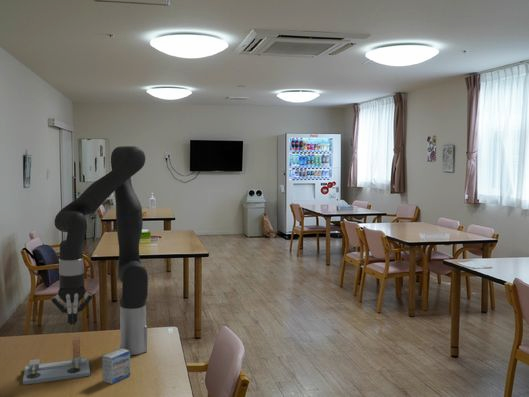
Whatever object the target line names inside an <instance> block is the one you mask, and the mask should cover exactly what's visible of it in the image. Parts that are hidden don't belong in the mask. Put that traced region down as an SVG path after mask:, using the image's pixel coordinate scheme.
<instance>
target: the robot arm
mask: <svg viewBox="0 0 529 397" xmlns="http://www.w3.org/2000/svg"><path fill="white" fill-rule="evenodd" d="M145 164H146V155H145V151H143V149H142V148H140V147H138V146H130V145H126V146H123V145H122V146H117V147H115V148H114V149H113V150H112V151H111V155H110V167H111V170H110V171H109V172H107V174H105V175H103V176H102V177H100V178H98V179H96V180H95V181H94V182H93V183H91V184H90V185H89V186H88V187H87V188H85V190H84V191H83V192H82V193H81V194H80V195H79V196H78V197H77V198H76V199H75V200H73V201H71V202H70V203H68V204H67V205H65V206H64V207H63V208H62V209H61V210H59V211H58V212H57V214H56V216H55V217H54V227H55V228H56V229H57V230H58V231H60V232H64V233H67V235H66V238H65V239H64V240H62V241H61V242H60V243H59V264H58V273H59V274H58V276H59V277H58V278H59V279H58V280H59V282H58V284H59V285H58V287H59V288H58V289H59V290H58V291H57V294H56V295H55V296H52V297H51V302H52V303H53V305H55V306H56V307H57V308H58V309H59V311H61V313H63V314H64V313H65V314H67V323H68V324H70V326H72V325H73V326H74V325H76V323H78V314H79V312H83V311H84V309H85V308H86V306H87V305H88V304H89V303H90V302H91V300H93V294H92V293H89V292H87V290H86V288H85V267H84V266H85V263H84V255H83V254H84V253H83V252H84V250H83V248H84V242H85V238H86V233H87V228H88V221H87V218H86V216H87V215H92V214H93V213H95V212H96V211H97V210H98V209H99V208H100V207H101V206H102V204H104V202H105V201H106V200H107V199H108V198H109V197H110V196H111V195H112V194H113V193H114V200H115V219H116V220H115V221H116V223H115V224H116V232H117V233H116V235H117V242H118V263H117V264H118V265H117V266H118V269H117V277H118V279H119V280H120V282H121V289H122V290H121V297H120V299H119V315H120V316H119V318H120V319H119V321H120V323H119V327H120V328H119V329H120V331H119V333H120V348H119V349H121V348H122V349H126V350H129V351H130V356H134V355H135V356H136V355H140V354H143V353H147V352H148V326H147V298H148V291H149V289H148V288H149V275H148V270H147V268H146V267H145V266H143V265H142V263H141V258H140V241H141V237H142V232H143V222H144V220H143V209H142V208H143V207H142V205H141V202H140V200H139V198H138V195H137V193H135V190H134V187H133V184H132V177H133V176H134V175H135V174H137V173H138V172H139V171H140V170H142V168H143V167H144V166H145ZM83 297H84V300H82V298H83ZM61 300H62V301H63V302H64V303H65V304H66V306H65V305H64V304H62V302H61ZM81 300H82V302H81V303H80V305H79V302H80V301H81ZM72 304H73V306H72ZM78 305H79V306H78Z"/></svg>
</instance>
